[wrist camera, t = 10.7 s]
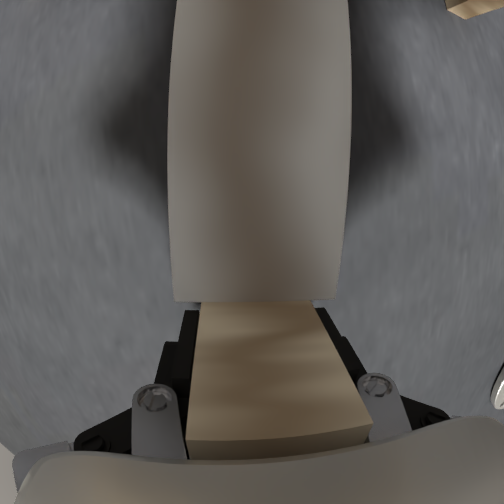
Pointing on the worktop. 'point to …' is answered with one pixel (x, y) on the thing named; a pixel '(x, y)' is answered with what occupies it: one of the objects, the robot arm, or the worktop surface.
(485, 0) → the oak bench
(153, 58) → the worktop surface
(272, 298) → the tan piece
